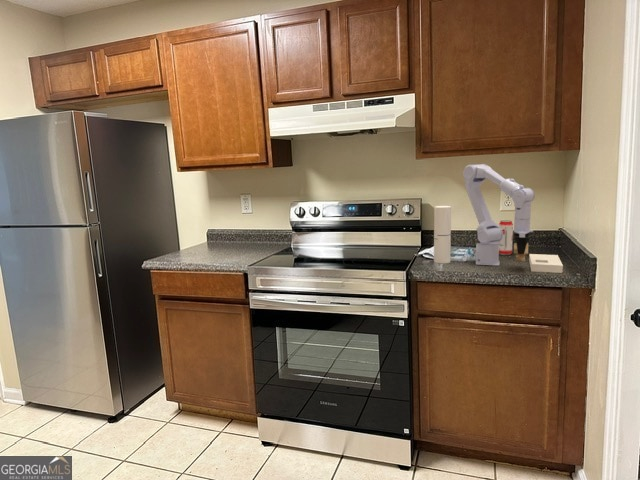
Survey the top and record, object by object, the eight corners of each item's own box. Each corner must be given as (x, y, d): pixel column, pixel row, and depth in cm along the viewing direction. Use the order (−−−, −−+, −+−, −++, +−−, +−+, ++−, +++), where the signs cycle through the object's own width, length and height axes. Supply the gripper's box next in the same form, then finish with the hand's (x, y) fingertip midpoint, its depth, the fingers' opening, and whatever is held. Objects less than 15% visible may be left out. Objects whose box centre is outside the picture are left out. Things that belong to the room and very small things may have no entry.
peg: (513, 261, 174) (514, 244, 173) (513, 258, 179) (513, 242, 177) (527, 262, 172) (528, 245, 170) (527, 259, 176) (528, 242, 175)
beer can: (508, 252, 209) (509, 219, 207) (514, 255, 203) (515, 221, 200) (495, 253, 209) (496, 220, 206) (501, 255, 203) (502, 222, 200)
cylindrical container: (446, 264, 191) (446, 207, 186) (431, 262, 195) (431, 207, 191) (452, 261, 196) (453, 206, 192) (438, 259, 201) (438, 205, 196)
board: (531, 271, 173) (531, 264, 173) (529, 260, 191) (529, 253, 191) (562, 273, 169) (562, 265, 168) (557, 261, 187) (557, 255, 186)
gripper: (534, 221, 164) (532, 256, 166) (532, 216, 177) (531, 249, 179) (514, 221, 167) (512, 255, 169) (513, 216, 180) (512, 248, 182)
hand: (520, 252), depth 175 cm, fingers closed on peg, 5 cm apart
